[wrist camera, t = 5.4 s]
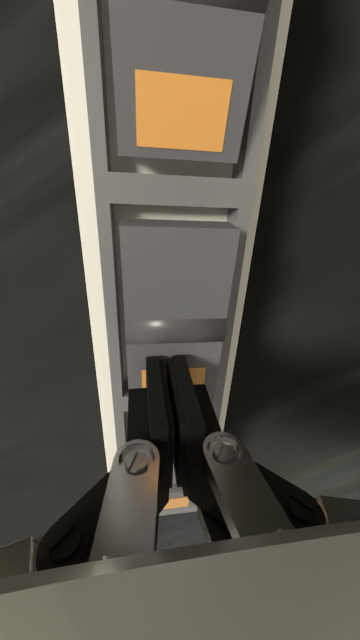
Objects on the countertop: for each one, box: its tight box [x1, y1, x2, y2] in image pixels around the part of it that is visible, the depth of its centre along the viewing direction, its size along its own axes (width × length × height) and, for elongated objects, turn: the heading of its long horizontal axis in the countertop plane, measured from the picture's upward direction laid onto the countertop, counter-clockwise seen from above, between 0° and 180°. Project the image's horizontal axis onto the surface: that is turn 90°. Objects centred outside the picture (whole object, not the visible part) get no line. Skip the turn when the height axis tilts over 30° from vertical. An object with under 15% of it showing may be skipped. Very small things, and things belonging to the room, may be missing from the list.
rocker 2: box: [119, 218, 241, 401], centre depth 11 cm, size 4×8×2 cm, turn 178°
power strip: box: [53, 0, 293, 516], centre depth 13 cm, size 8×38×4 cm, turn 177°
